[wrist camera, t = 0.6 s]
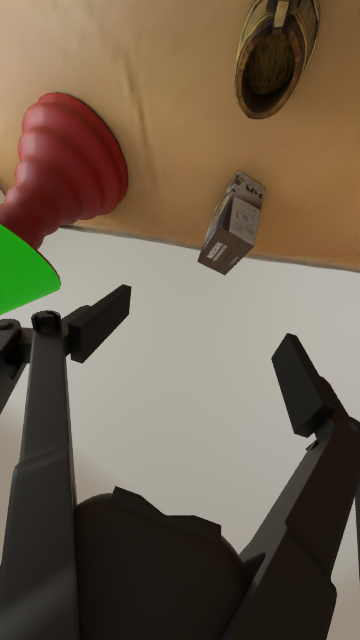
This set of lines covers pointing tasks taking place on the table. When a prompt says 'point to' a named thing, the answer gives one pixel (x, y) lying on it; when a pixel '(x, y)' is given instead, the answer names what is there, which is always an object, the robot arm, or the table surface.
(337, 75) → the table surface
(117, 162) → the table lamp
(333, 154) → the table surface
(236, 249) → the coffee box
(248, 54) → the wooden mug
